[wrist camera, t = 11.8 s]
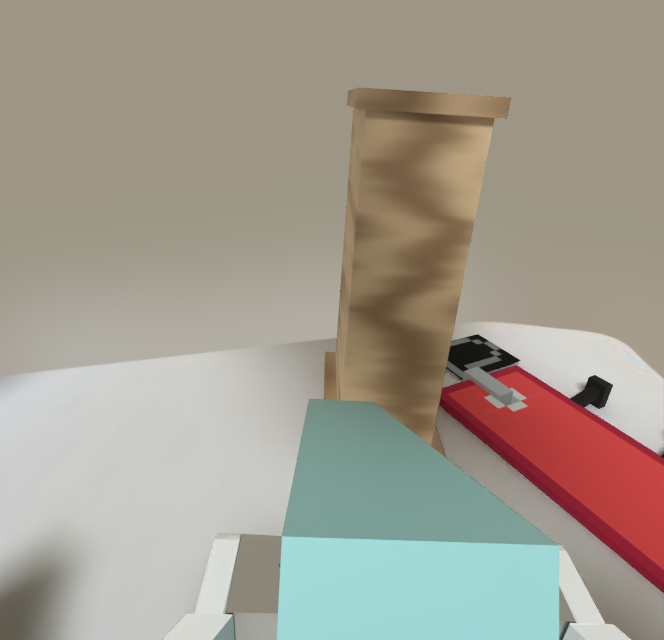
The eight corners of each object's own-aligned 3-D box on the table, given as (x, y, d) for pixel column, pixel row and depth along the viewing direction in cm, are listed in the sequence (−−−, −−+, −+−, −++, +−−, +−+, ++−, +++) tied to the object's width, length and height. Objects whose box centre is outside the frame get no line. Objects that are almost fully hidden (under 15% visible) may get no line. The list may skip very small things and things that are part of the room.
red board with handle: (487, 337, 57) (387, 364, 51) (492, 317, 56) (389, 342, 49) (787, 521, 34) (674, 615, 27) (807, 493, 33) (694, 585, 26)
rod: (266, 843, 6) (281, 536, 7) (306, 465, 28) (309, 399, 28) (558, 847, 6) (559, 545, 7) (371, 467, 28) (373, 401, 29)
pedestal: (323, 474, 35) (349, 86, 23) (324, 368, 48) (341, 90, 37) (442, 479, 35) (524, 98, 24) (410, 372, 48) (453, 98, 37)
